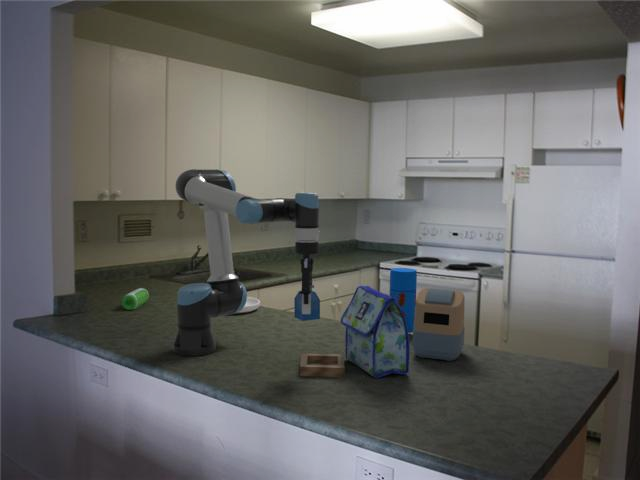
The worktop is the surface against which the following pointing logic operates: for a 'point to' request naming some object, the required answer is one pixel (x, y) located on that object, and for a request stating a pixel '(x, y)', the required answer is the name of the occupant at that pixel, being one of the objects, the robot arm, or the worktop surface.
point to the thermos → (404, 292)
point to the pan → (250, 305)
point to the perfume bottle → (314, 306)
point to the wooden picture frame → (322, 365)
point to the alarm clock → (439, 324)
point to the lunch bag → (376, 333)
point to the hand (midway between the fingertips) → (307, 310)
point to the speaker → (135, 299)
